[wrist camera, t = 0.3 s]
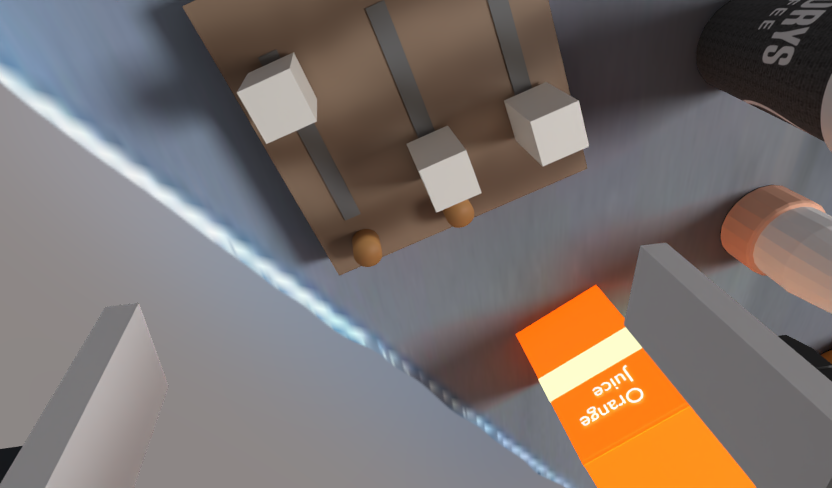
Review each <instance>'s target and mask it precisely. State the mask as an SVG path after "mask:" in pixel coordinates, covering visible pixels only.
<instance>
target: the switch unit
mask: <svg viewBox="0 0 832 488" xmlns="http://www.w3.org/2000/svg"><path fill="white" fill-rule="evenodd" d="M182 7H183V9H184V10H185V12H186V14H187V16H188V17H189V19H190V21H191V22H192V24H193V26H194V28H195V29H196V31H197V33H198V34H199V36H200V38H201V40H202V41H203V43H204V45H205V46H206V48H207V50H208V52H209V53H210V55H211V57H212V58H213V60H214V62H215V63H216V65H217V67H218V69H219V70H220V72H221V74H222V75H223V77H224V79H225V81H226V82H227V84H228V86H229V87H230V89H231V91H232V93H233V94H234V96H235V98H236V99H237V101H238V103H239V105H240V106H241V108H242V110H243V111H244V113H245V115H246V117H247V118H248V120H249V122H250V123H251V125H252V127H253V129H254V130H255V132H256V134H257V135H258V137H259V139H260V141H261V142H262V144H263V146H264V147H265V149H266V151H267V153H268V154H269V156H270V158H271V159H272V161H273V163H274V165H275V166H276V168H277V170H278V171H279V173H280V175H281V177H282V178H283V180H284V182H285V183H286V185H287V187H288V189H289V190H290V192H291V194H292V195H293V197H294V199H295V201H296V202H297V204H298V206H299V207H300V209H301V211H302V212H303V214H304V216H305V218H306V219H307V221H308V223H309V224H310V226H311V228H312V230H313V231H314V233H315V235H316V236H317V238H318V240H319V242H320V243H321V245H322V247H323V248H324V250H325V252H326V254H327V255H328V257H329V259H330V260H331V262H332V264H333V266H334V267H335V269H336V271H337V272H338V274H339V275H342V274H344V273H346V272H349V271H351V270H353V269H356V268H358V267H360V266H364V267H370V266H374V265H376V264H377V263H378V262H379V261H380V260H381V258H382V257H383V256H386V255H388V254H390V253H393V252H395V251H397V250H400V249H402V248H404V247H407V246H409V245H411V244H414V243H416V242H418V241H420V240H423V239H425V238H427V237H430V236H432V235H434V234H437V233H439V232H441V231H444V230H446V229H448V228H451V227H458V228H460V227H464V226H466V225H468V224H469V223H470V222H471V221H472V219H473V218H474V217H476V216H478V215H481V214H483V213H485V212H488V211H490V210H492V209H495V208H497V207H499V206H502V205H504V204H506V203H508V202H511V201H513V200H515V199H518V198H520V197H522V196H525V195H527V194H529V193H532V192H534V191H536V190H539V189H541V188H543V187H546V186H548V185H550V184H553V183H555V182H557V181H559V180H562V179H564V178H566V177H569V176H571V175H573V174H576V173H578V172H580V171H583V170H585V169H587V164H586V160H585V156H584V152H583V149H582V150H580V151H578V152H575V153H573V154H571V155H568V156H566V157H564V158H561V159H559V160H557V161H555V162H552V163H550V164H548V165H545V166H542V165H541V164H540V163H539V162H538V161H536V160H535V159H534V158H533V157H532V156H531V155H530V154H529V153H528V152H527V151H526V150H525V149H524V148H523V147H522V146H521V145H520V144H519V143H518V142H517V141H516V140H515V136H514V133H513V130H512V126H511V123H510V120H509V117H508V113H507V110H506V107H505V103H504V100H506V99H509V98H511V97H513V96H515V95H518V94H520V93H522V92H524V91H527V90H529V89H531V88H534V87H536V86H538V85H540V84H543V83H545V82H547V83H549V84H551V85H552V86H554V87H556V88H558V89H559V90H561V91H563V92H565V93H566V94H568V95H570V91H569V87H568V83H567V78H566V74H565V70H564V66H563V61H562V57H561V53H560V48H559V44H558V40H557V35H556V31H555V27H554V22H553V18H552V14H551V10H550V5H549V1H548V0H195V1H193V2H191V3H188V4H186V5H184V6H182ZM293 52H294V54H295V56H296V58H297V60H298V62H299V64H300V66H301V68H302V70H303V72H304V74H305V76H306V78H307V80H308V82H309V84H310V86H311V88H312V90H313V92H314V94H315V96H316V98H317V122H315V123H312V124H310V125H308V126H306V127H303V128H301V129H299V130H297V131H295V132H292V133H290V134H288V135H286V136H283V137H281V138H279V139H277V140H275V141H272V142H270V143H268V144H266V142H265V141H264V139H263V137H262V135H261V134H260V132H259V130H258V129H257V127H256V125H255V123H254V122H253V120H252V118H251V116H250V115H249V113H248V111H247V110H246V108H245V106H244V104H243V103H242V101H241V99H240V97H239V96H238V94H237V91H238V89H239V88H240V86H241V84H242V83H243V81H244V79H245V77H246V76H247V74H248V73H249V72H252V71H254V70H256V69H258V68H260V67H262V66H265V65H267V64H269V63H271V62H273V61H276V60H278V59H280V58H282V57H284V56H287V55H289V54H291V53H293ZM445 126H449V128H450V129H451V130H452V132H453V133H454V134H455V136H456V137H457V138H458V140H459V141H460V142H461V144H462V145H463V146H464V148H465V149H466V151H467V154H468V156H469V159H470V162H471V165H472V167H473V170H474V173H475V176H476V178H477V181H478V184H479V187H480V189H481V192H482V193H481V194H478V195H476V196H474V197H472V198H469V199H467V200H465V201H462V202H460V203H458V204H455V205H453V206H451V207H449V208H446V209H444V210H442V211H439V212H437V213H436V210H435V208H434V206H433V204H432V202H431V199H430V197H429V195H428V193H427V191H426V188H425V186H424V184H423V182H422V180H421V177H420V175H419V172H418V170H417V168H416V165H415V163H414V161H413V158H412V156H411V154H410V151H409V149H408V147H407V143H409V142H411V141H414V140H416V139H418V138H420V137H423V136H425V135H427V134H429V133H432V132H434V131H436V130H439V129H441V128H443V127H445Z"/></svg>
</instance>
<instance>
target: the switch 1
mask: <svg viewBox="0 0 832 488" xmlns="http://www.w3.org/2000/svg"><path fill="white" fill-rule="evenodd" d="M237 94H238V96H239V97H240V99H241V101H242V103H243V104H244V106H245V108H246V110H247V111H248V113H249V115H250V116H251V118H252V120H253V122H254V123H255V125H256V127H257V129H258V130H259V132H260V134H261V135H262V137H263V139H264V141H265V142H266V144H268V143H270V142H272V141H275V140H277V139H279V138H281V137H283V136H286V135H288V134H290V133H292V132H295V131H297V130H299V129H301V128H303V127H306V126H308V125H310V124H312V123H315V122H317V98H316V96H315V94H314V92H313V90H312V88H311V86H310V84H309V82H308V80H307V78H306V76H305V74H304V72H303V70H302V68H301V66H300V64H299V62H298V60H297V58H296V56H295V54H294V52H293V53H291V54H289V55H287V56H284V57H282V58H280V59H278V60H276V61H273V62H271V63H269V64H267V65H265V66H262V67H260V68H258V69H256V70H254V71H252V72H249V73H248V74H247V76H246V77H245V79H244V81H243V83H242V84H241V86H240V88H239V89H238V91H237Z"/></svg>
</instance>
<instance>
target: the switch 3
mask: <svg viewBox="0 0 832 488" xmlns="http://www.w3.org/2000/svg"><path fill="white" fill-rule="evenodd" d="M504 103H505V107H506V110H507V113H508V117H509V120H510V123H511V126H512V130H513V133H514V136H515V140H516V141H517V142H518V143H519V144H520V145H521V146H522V147H523V148H524V149H525V150H526V151H527V152H528V153H529V154H530V155H531V156H532V157H533V158H534V159H535V160H536V161H538V162H539V163H540V164H541V165H542V166H545V165H548V164H550V163H552V162H555V161H557V160H559V159H561V158H564V157H566V156H568V155H571V154H573V153H575V152H578V151H580V150H582V149H585V148H587V147H589V144H588V139H587V135H586V130H585V126H584V121H583V117H582V112H581V108H580V104H579V100H577V99H575V98H573V97H572V96H570V95H568V94H566V93H565V92H563V91H561V90H559V89H558V88H556V87H554V86H552V85H551V84H549V83H547V82H545V83H543V84H540V85H538V86H536V87H534V88H531V89H529V90H527V91H524V92H522V93H520V94H518V95H515V96H513V97H511V98H509V99H506V100H504Z"/></svg>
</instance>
